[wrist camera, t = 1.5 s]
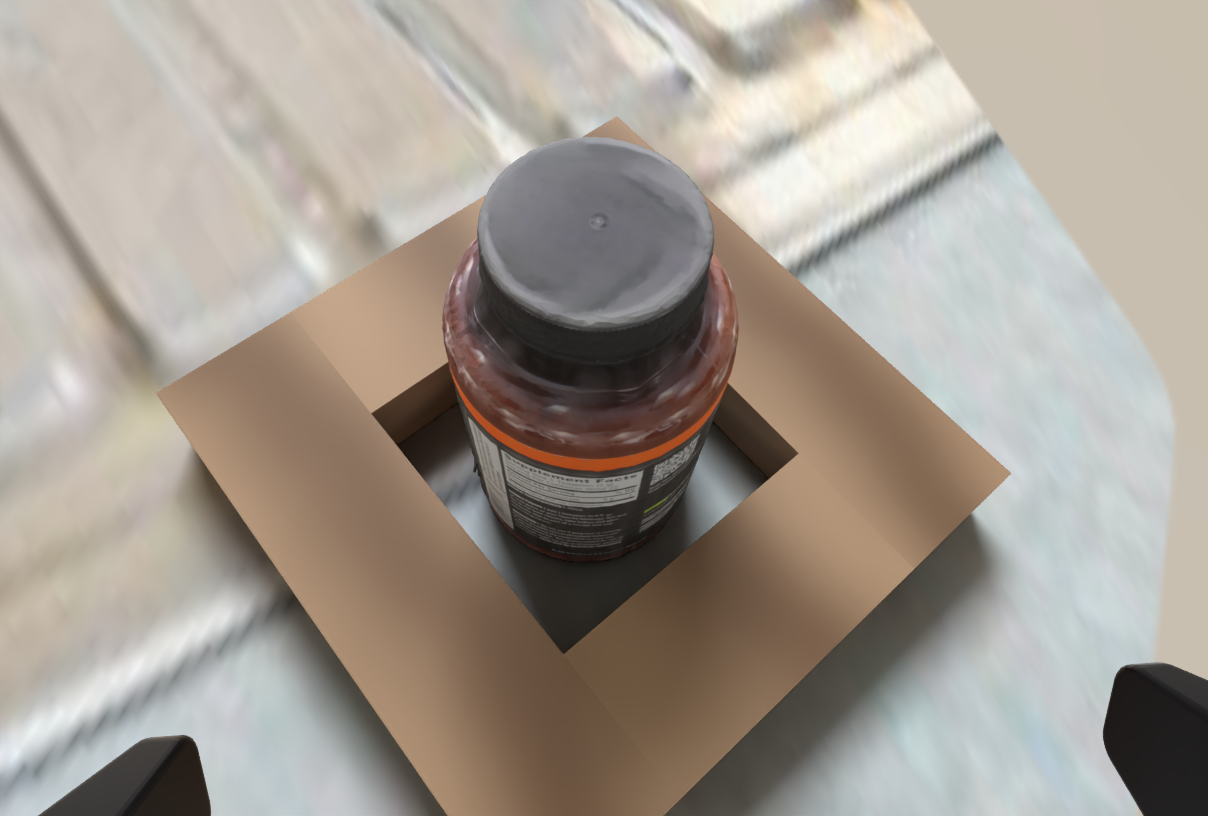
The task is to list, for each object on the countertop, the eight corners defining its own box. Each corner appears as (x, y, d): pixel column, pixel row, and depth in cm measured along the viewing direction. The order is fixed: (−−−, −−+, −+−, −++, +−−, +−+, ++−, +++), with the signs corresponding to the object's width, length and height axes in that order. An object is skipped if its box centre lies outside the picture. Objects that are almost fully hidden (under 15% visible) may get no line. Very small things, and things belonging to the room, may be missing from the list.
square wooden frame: (537, 924, 19) (534, 942, 16) (194, 432, 23) (155, 393, 21) (968, 504, 24) (1011, 473, 21) (612, 170, 28) (616, 116, 26)
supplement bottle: (530, 351, 25) (509, 48, 15) (711, 418, 24) (819, 148, 14) (444, 522, 23) (349, 297, 12) (643, 602, 22) (713, 433, 12)
